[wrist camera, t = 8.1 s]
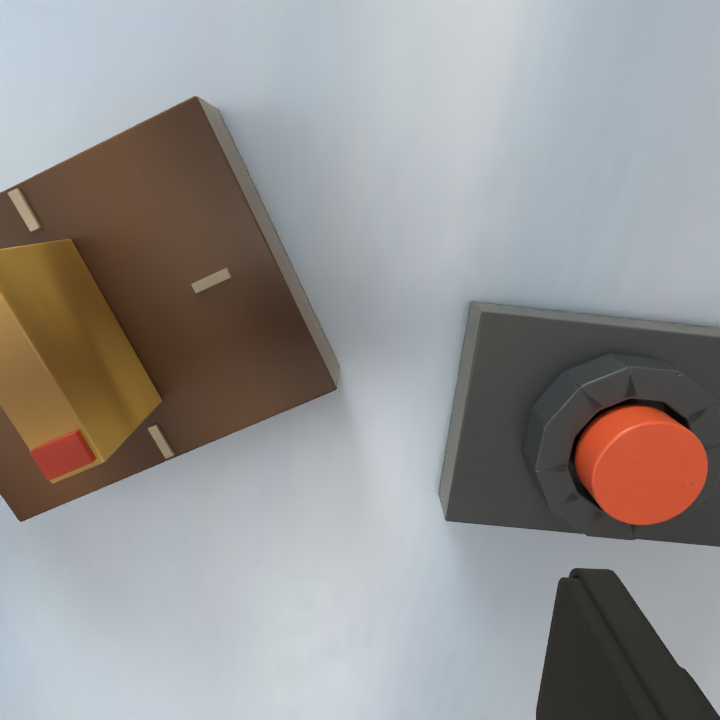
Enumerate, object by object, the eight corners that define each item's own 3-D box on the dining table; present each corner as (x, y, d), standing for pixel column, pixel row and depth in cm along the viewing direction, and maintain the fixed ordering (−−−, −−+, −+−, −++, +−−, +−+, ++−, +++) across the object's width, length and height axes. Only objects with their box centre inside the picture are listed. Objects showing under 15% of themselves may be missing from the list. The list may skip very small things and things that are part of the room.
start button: (693, 408, 20) (723, 428, 19) (665, 505, 22) (690, 531, 20) (586, 397, 20) (607, 416, 19) (563, 495, 21) (581, 521, 20)
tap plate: (218, 108, 21) (194, 93, 18) (339, 366, 24) (337, 391, 21) (-92, 261, 22) (-162, 271, 19) (58, 485, 25) (17, 525, 22)
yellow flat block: (26, 258, 19) (-90, 280, 14) (71, 238, 19) (-32, 253, 14) (121, 418, 21) (47, 488, 16) (163, 401, 21) (101, 466, 16)
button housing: (753, 331, 23) (831, 357, 19) (693, 519, 26) (752, 575, 22) (470, 300, 23) (493, 321, 19) (437, 494, 25) (452, 547, 22)
